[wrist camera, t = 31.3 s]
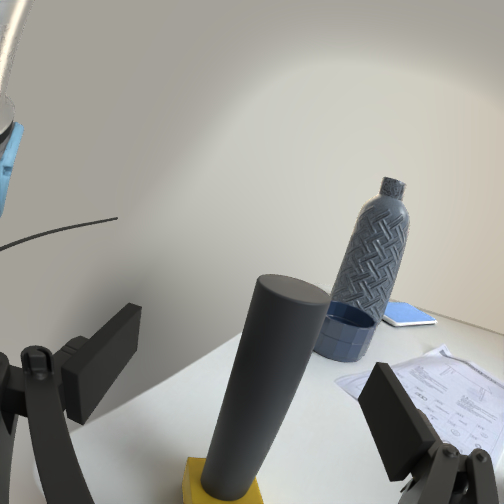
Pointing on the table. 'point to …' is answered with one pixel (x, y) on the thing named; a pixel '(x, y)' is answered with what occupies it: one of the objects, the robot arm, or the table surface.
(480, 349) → the table surface
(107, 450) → the table surface
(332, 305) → the bowl
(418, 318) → the tablet
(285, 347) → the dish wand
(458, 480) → the robot arm
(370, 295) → the vase
